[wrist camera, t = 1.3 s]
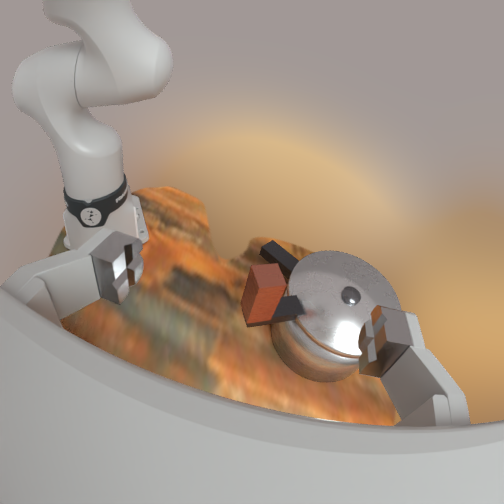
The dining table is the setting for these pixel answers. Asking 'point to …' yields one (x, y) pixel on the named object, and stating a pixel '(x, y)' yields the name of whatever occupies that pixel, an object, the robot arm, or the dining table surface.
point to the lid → (319, 298)
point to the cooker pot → (303, 335)
